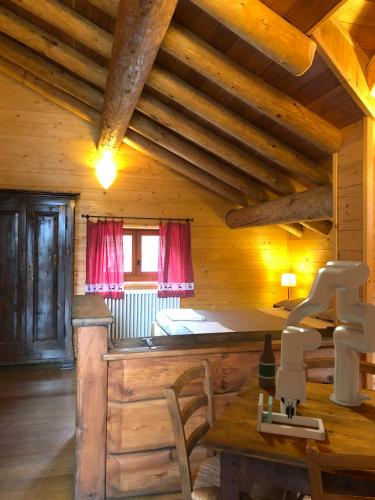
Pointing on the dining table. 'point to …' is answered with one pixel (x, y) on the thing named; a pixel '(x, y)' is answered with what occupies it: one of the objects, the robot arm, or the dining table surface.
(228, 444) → the dining table surface
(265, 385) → the beer bottle
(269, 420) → the plate
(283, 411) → the syrup box
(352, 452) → the dining table surface
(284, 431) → the white angular frame
